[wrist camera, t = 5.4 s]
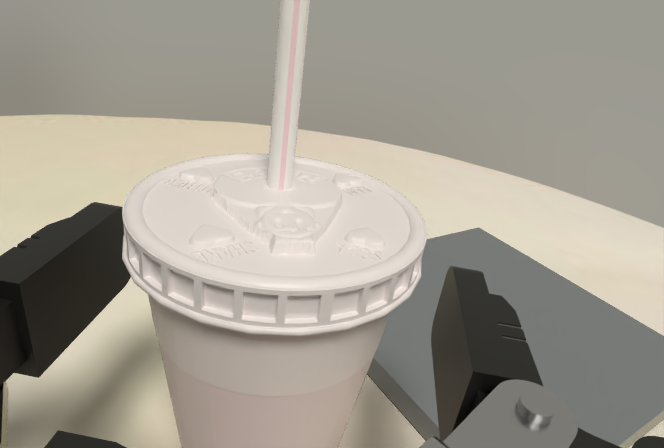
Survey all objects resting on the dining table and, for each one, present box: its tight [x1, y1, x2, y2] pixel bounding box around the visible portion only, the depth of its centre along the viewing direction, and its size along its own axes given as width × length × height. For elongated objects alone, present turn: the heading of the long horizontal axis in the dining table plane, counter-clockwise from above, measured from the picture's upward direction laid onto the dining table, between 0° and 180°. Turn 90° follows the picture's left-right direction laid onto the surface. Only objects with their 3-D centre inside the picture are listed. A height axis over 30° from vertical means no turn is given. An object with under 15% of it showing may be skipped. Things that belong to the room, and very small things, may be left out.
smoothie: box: [122, 0, 427, 448], centre depth 11 cm, size 6×6×14 cm
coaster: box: [367, 228, 664, 448], centre depth 22 cm, size 14×14×1 cm
